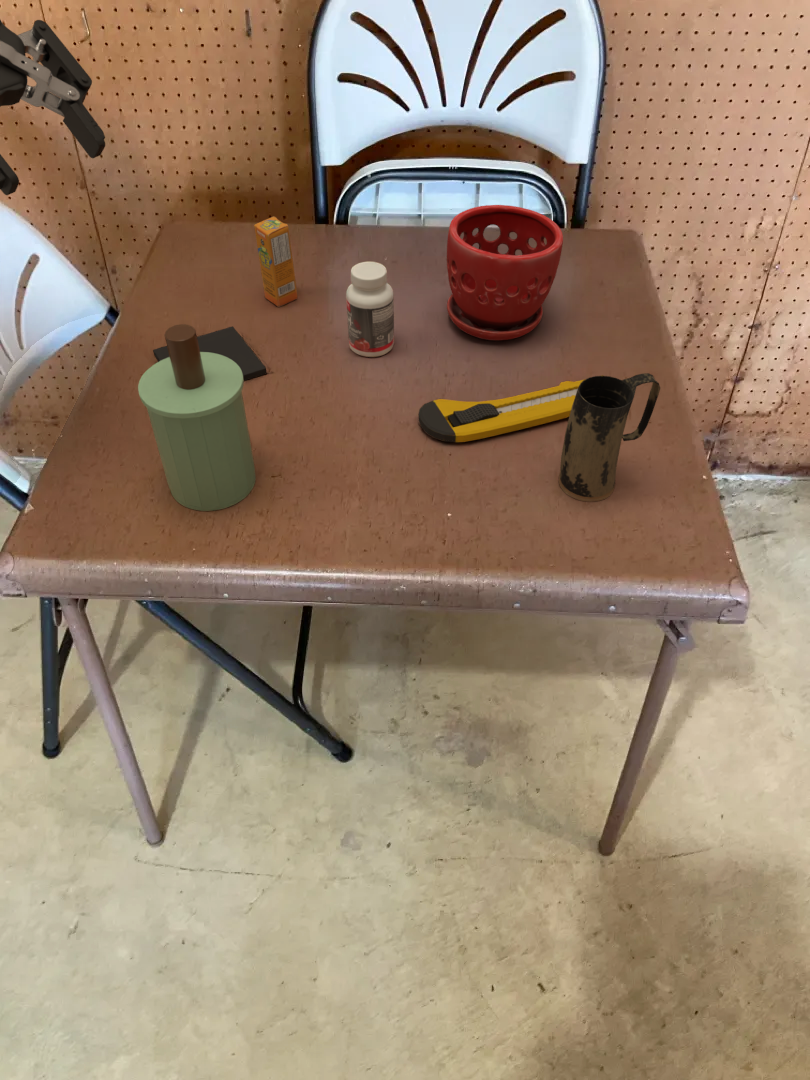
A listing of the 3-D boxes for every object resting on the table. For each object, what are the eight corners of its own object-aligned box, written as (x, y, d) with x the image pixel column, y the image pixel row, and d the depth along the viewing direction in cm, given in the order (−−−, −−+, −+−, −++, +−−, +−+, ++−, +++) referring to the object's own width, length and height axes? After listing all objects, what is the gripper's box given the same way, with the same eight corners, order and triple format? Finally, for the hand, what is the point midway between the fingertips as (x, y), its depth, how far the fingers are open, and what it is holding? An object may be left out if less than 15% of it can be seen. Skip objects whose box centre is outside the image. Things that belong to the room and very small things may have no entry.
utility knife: (411, 415, 91) (411, 400, 89) (595, 371, 96) (598, 356, 95) (436, 454, 86) (436, 439, 85) (626, 406, 92) (630, 391, 90)
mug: (568, 506, 81) (588, 406, 72) (548, 468, 85) (565, 369, 76) (644, 493, 82) (673, 393, 74) (621, 456, 86) (646, 358, 77)
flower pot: (480, 362, 98) (488, 267, 89) (424, 308, 105) (426, 216, 97) (572, 333, 102) (587, 239, 93) (512, 283, 110) (521, 192, 101)
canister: (187, 522, 80) (162, 427, 71) (158, 471, 85) (131, 376, 76) (269, 492, 82) (254, 397, 74) (236, 444, 87) (218, 349, 79)
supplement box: (261, 298, 107) (251, 222, 100) (284, 289, 109) (275, 214, 101) (277, 309, 105) (267, 233, 98) (299, 299, 107) (291, 223, 100)
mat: (183, 400, 92) (182, 394, 92) (154, 355, 98) (152, 349, 98) (267, 373, 96) (266, 367, 95) (233, 331, 102) (232, 325, 101)
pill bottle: (339, 344, 100) (334, 269, 93) (373, 327, 102) (371, 252, 95) (369, 364, 97) (366, 287, 90) (403, 346, 100) (403, 270, 93)
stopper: (160, 437, 71) (144, 376, 67) (127, 381, 77) (110, 321, 72) (261, 403, 74) (251, 343, 70) (222, 352, 80) (211, 293, 75)
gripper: (-176, -37, 56) (-8, 176, 60) (2, -76, 64) (140, 114, 68) (-180, 37, 62) (-27, 227, 66) (-16, -7, 70) (112, 164, 74)
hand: (58, 169), depth 67 cm, fingers open, 8 cm apart
